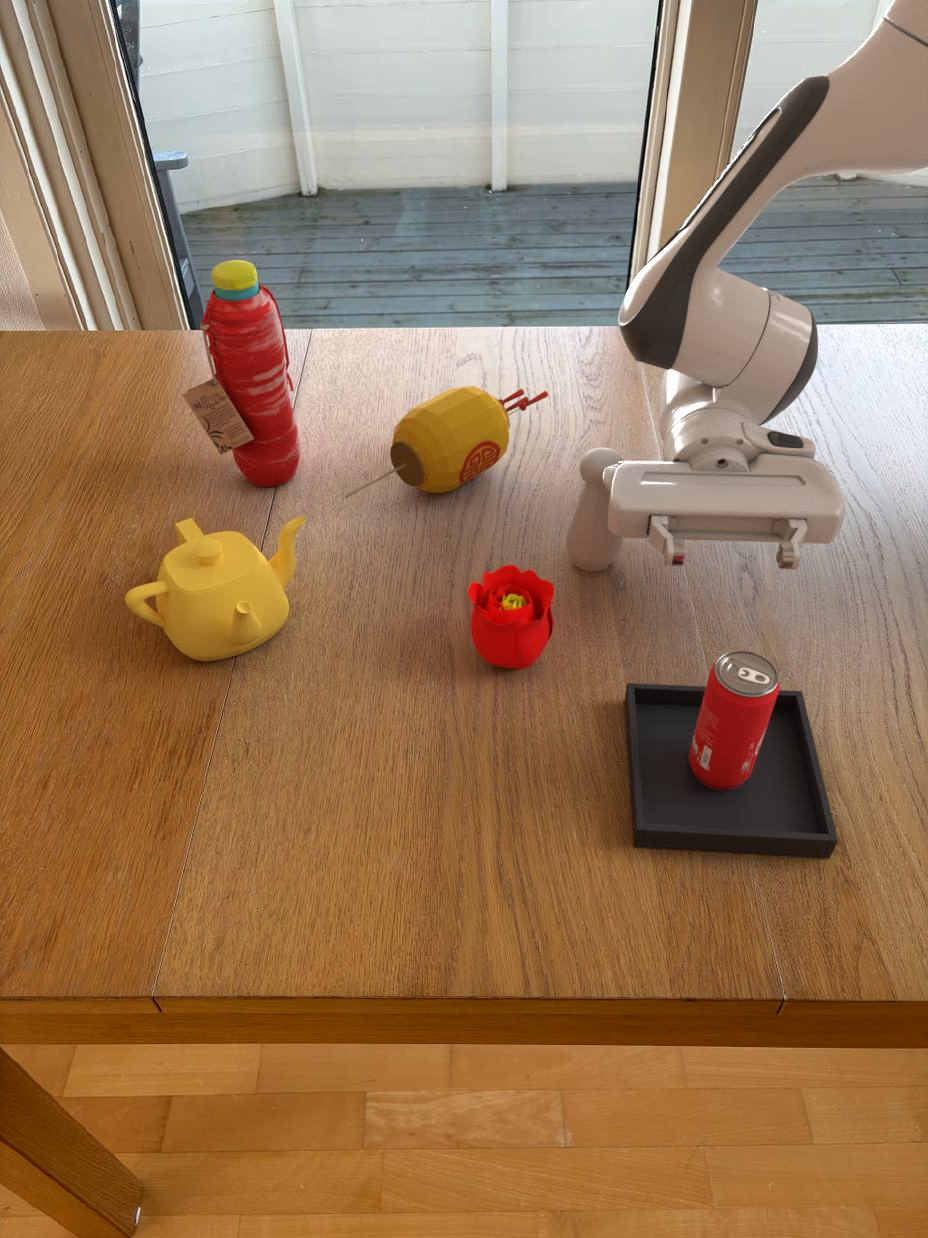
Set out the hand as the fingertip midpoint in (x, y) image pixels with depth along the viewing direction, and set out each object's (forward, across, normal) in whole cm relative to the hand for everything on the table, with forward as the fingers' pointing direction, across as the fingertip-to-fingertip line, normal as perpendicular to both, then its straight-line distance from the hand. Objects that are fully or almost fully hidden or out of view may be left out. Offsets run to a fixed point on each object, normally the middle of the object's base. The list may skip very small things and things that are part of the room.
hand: (732, 561), depth 79 cm
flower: (-1, -18, +13) cm, 23 cm away
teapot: (-3, -45, +13) cm, 47 cm away
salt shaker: (-15, -10, +13) cm, 22 cm away
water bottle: (-27, -48, +13) cm, 57 cm away
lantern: (-29, -26, +13) cm, 41 cm away
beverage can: (+12, 0, +13) cm, 18 cm away
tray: (+12, 0, +13) cm, 18 cm away
